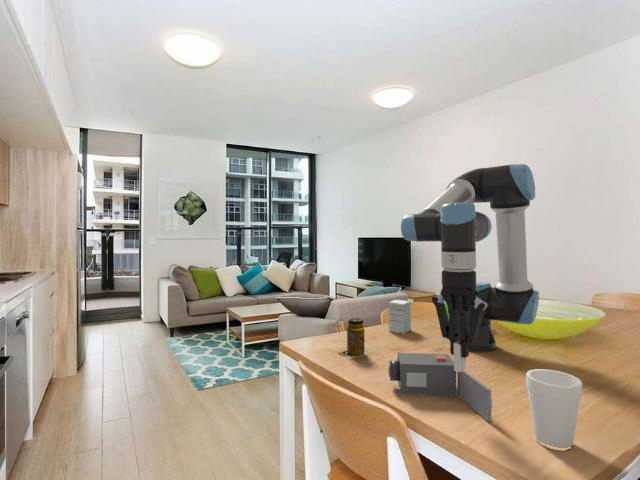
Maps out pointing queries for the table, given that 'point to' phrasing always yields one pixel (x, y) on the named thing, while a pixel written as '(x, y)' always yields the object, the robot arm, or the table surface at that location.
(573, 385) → the foam cup
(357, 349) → the condiment
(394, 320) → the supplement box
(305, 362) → the table surface
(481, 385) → the side door
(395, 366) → the camera box
